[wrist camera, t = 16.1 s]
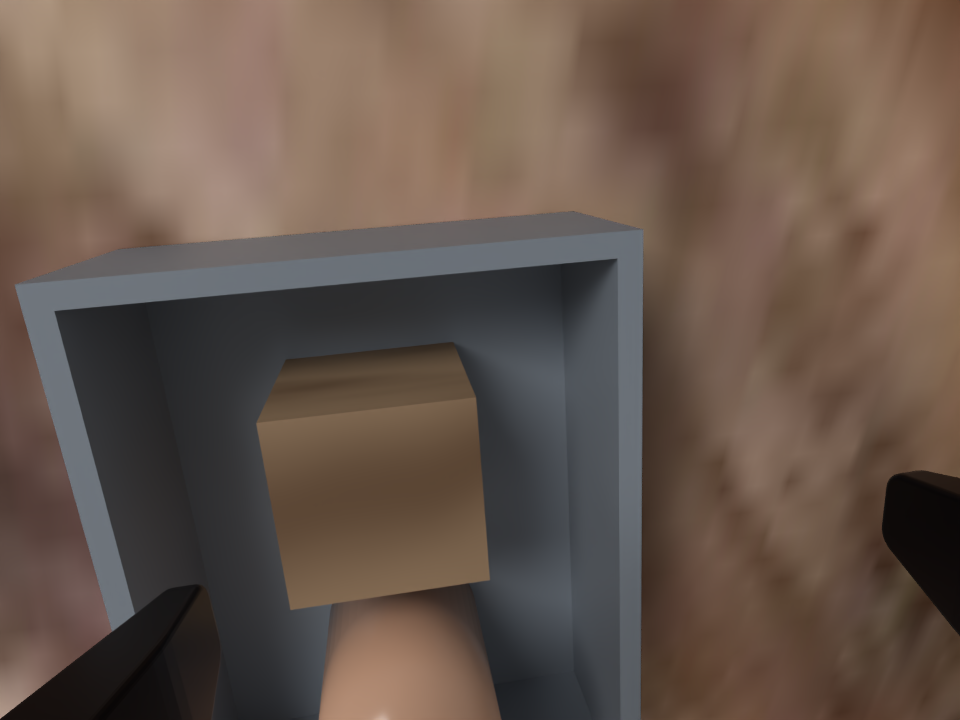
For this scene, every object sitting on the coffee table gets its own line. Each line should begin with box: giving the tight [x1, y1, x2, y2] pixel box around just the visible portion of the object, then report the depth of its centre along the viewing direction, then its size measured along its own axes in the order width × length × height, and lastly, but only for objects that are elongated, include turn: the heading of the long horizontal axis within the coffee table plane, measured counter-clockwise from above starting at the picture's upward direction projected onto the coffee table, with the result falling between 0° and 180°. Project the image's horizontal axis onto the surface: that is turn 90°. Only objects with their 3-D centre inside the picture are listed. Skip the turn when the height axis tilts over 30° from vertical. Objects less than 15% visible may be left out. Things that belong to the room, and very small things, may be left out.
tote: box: [15, 211, 643, 720], centre depth 19 cm, size 13×17×6 cm
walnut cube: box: [256, 342, 490, 610], centre depth 18 cm, size 5×5×5 cm
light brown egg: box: [319, 583, 501, 720], centre depth 19 cm, size 5×5×7 cm
